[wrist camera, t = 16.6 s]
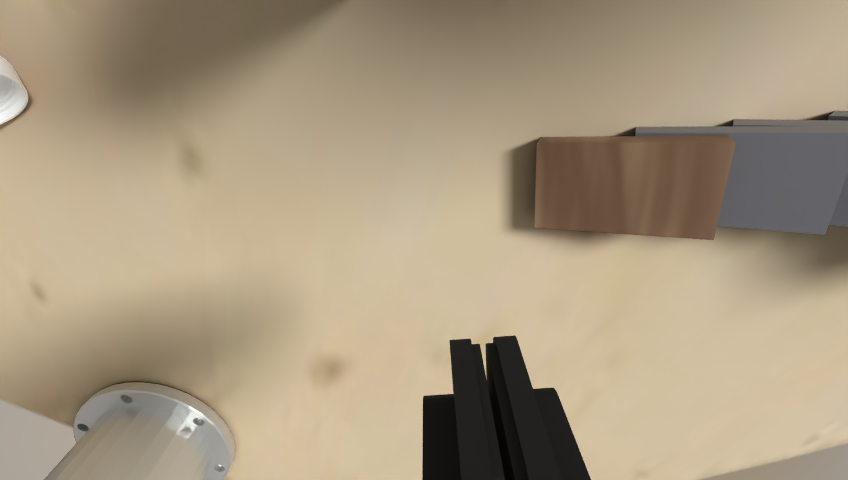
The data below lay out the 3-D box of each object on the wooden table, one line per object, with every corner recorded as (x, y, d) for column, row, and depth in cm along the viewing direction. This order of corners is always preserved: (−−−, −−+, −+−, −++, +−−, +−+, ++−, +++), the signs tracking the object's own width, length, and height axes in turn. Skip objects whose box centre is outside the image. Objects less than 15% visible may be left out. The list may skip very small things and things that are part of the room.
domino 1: (534, 227, 24) (713, 239, 21) (536, 143, 22) (735, 142, 19) (538, 217, 26) (707, 227, 22) (540, 137, 24) (727, 135, 20)
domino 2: (636, 127, 23) (847, 125, 20) (625, 209, 25) (814, 222, 22) (635, 132, 22) (862, 132, 18) (624, 218, 24) (825, 234, 20)
